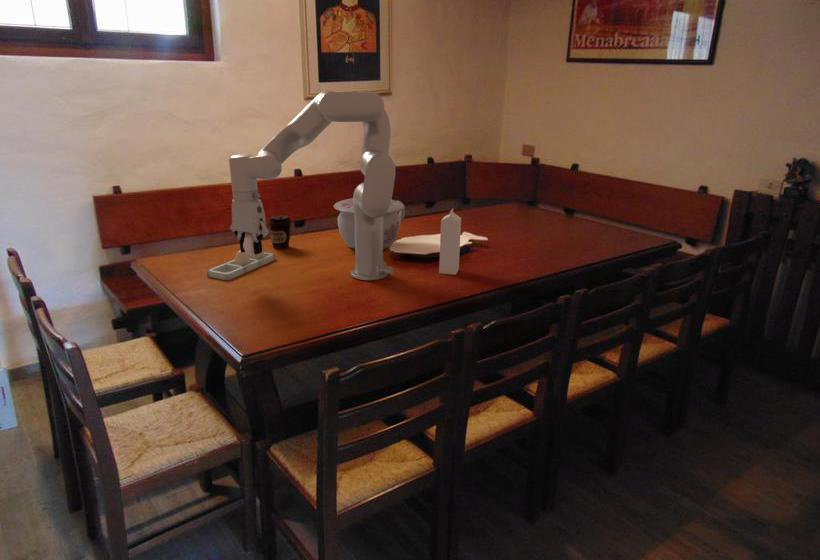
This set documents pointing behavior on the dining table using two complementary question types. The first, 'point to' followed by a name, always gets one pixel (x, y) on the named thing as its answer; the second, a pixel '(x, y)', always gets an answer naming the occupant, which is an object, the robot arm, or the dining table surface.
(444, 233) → the milk
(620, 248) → the dining table surface
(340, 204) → the chamber pot
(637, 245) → the dining table surface
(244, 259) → the brown egg middle
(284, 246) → the coffee cup
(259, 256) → the brown egg end
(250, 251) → the white egg shape
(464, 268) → the dining table surface
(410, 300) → the dining table surface
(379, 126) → the robot arm
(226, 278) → the egg carton
